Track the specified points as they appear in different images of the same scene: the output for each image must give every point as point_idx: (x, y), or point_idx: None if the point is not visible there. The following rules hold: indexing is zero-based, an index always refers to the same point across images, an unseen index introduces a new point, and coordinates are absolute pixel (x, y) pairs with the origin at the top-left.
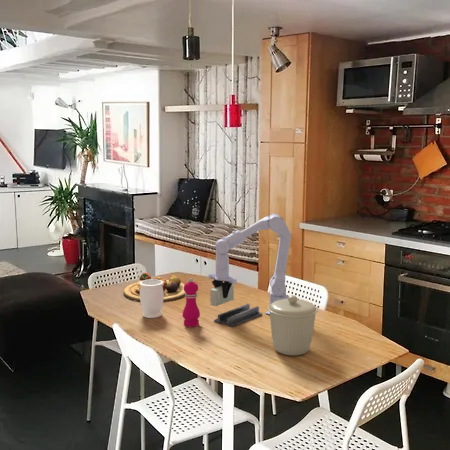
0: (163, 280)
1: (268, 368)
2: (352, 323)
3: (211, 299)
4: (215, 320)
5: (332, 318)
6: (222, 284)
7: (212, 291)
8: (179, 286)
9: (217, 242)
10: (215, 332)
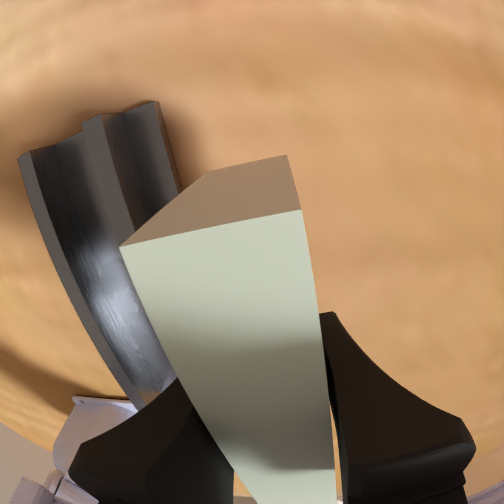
0: None
1: None
2: (23, 434)
3: (269, 169)
4: (145, 104)
5: None
6: (107, 465)
7: (225, 211)
8: None
9: None
10: (27, 37)
